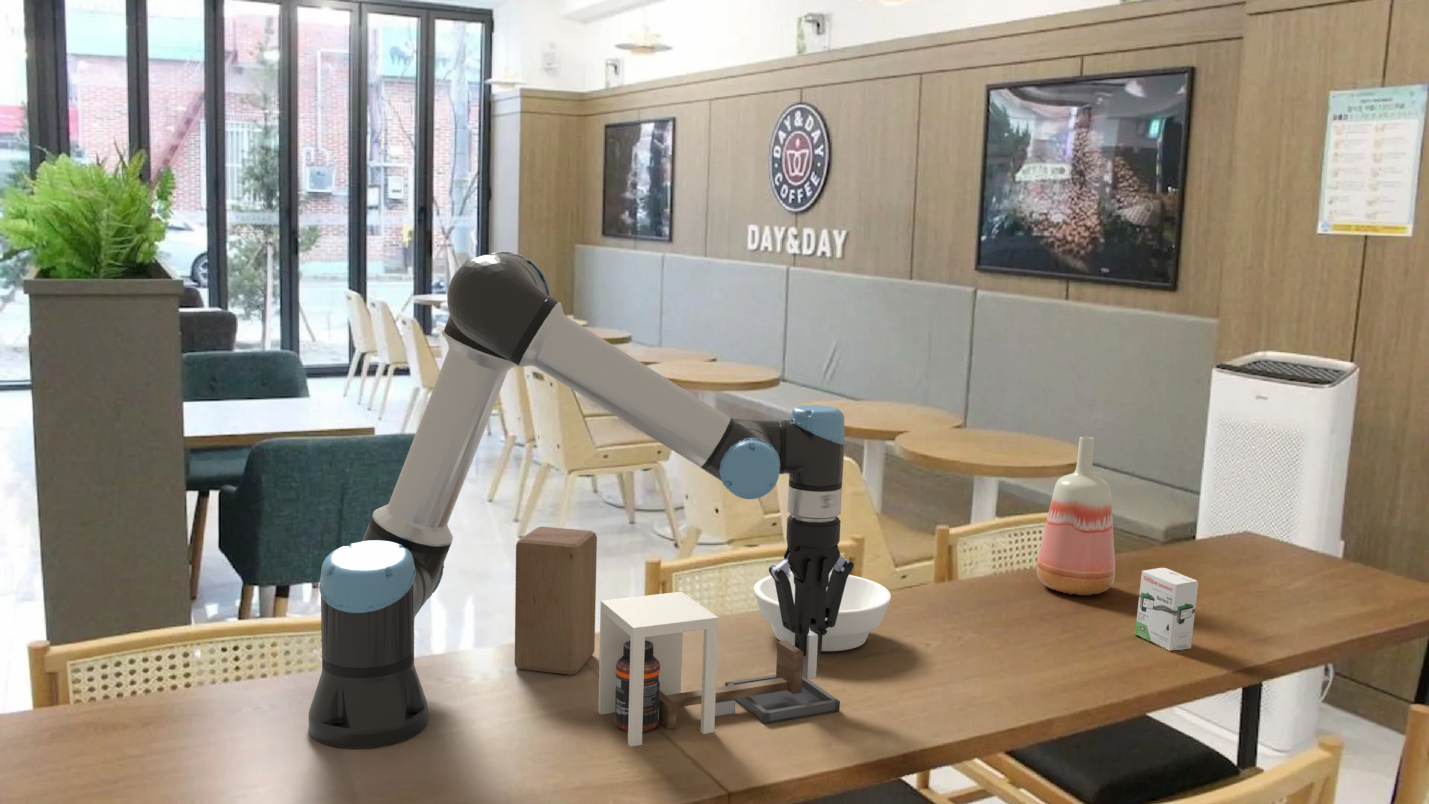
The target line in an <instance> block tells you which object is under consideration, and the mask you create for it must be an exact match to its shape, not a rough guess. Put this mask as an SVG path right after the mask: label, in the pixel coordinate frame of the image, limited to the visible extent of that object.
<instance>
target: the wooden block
mask: <svg viewBox="0 0 1429 804" xmlns="http://www.w3.org/2000/svg"><path fill="white" fill-rule="evenodd" d="M597 542H598V537H597V533H596V532H594V531H591V530H587V529H575V528H572V529H571V528H562V527H552V526H551V527H549V526H537V527H536V528H535V529H533V530H532V531H530V532H528V533H527V534H526V535H524V536H522V537H521V538H520V539H519V540H517V542H516V544H515V592H514V593H515V595H514V596H515V597H514V598H515V602H514V603H515V604H514V605H515V607H514V610H515V611H514V665H515V668H517V669H520V670H527V671H537V672H546V673H553V674H554V673H555V674H563V675H571V676H572V675H575V674H577V673H578V672H579V671H580V670H581V669H582V667H584V665H585V664H586V663H588V661H589V659H591V657H592V656H593V655H594V653H595V645H596V643H595V642H596V596H597V593H596V591H597V557H598V556H597V552H598V551H597V548H598V546H597V544H598V543H597Z"/></svg>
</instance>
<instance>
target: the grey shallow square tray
mask: <svg viewBox="0 0 1429 804" xmlns="http://www.w3.org/2000/svg"><path fill="white" fill-rule="evenodd" d="M769 679H776V674H772V675H771V674H770V675H766V676H764V675H763V676H759V677H753V678H744V679H739V680H733V681H726V682H724V686H730V685H736V684H743V683H749V682H756V681H763V680H769ZM734 700H735V703H738V705H740V706H741V707H742V708H744V709H745V710H746V711H747V712H748V713H750V714H751V715H753V717H755V718H756V719H757V721H760V723H762V724H763V725H769V724H771V723H772V724H773V723H778V722H785V721H791V720H797V719H802V718H807V717H808V718H809V717H812V716H814V717H815V716H819V715H826V714H832V713H838V712H840V709H841V701H840V700H839V699H838V698H836V697H835V696H833V695H832V694H831V693H829V692H828V691H827V690H825V689H823V688H822V687H821V686H819V685H817V683H815V682H814V681H812V680H811V679H810V680H807V679H805V678H804V677H803V676H802V693H798V694H792V693H791V692H789V691H788V690H785V691H779V692H772V693H766V694H760V695H754V696H747V697H741V698H735V699H734Z"/></svg>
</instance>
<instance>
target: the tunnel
mask: <svg viewBox="0 0 1429 804" xmlns="http://www.w3.org/2000/svg"><path fill="white" fill-rule="evenodd" d="M599 616H600V618H599V621H600V622H599V625H600V626H599V659H598V660H599V662H598V664H599V665H598V666H599V667H598V668H599V669H598V704H597V705H598V706H597V707H598V708H597V709H598V712H597V713H598V714H599V715H608V714H613V713H614V714H615V695H616V694H615V693H616V664H617V661H618V660H619V659H620V658H621V657H622V656H623V655H624V654H623V646H624V643H626V642H627V641H630V640H631V641H630V680H629V719H628V731H627V745H628V746H629V747H630V748H631V747H637V746H642V745H643V732H642V725H643V689H644V652H645V640H647V641H650V642H651V643H653V652H654V653H653V656H654V657H655V658H656V659H657V660H658V661H659V663H660V691H661V692H662V693H663V694H665V695H671V694H677V693H682V667H683V666H682V664H683V663H682V662H683V636H684V635H683V633H686V632H687V633H688V632H694V631H702V630H703V645H702V646H703V649H702V650H703V651H702V674H701V675H702V677H701V678H702V680H701V681H702V682H701V690H702V702H701V704H700V705H701V707H700V708H701V709H700V733H701V734H702V735H706V734H713V733H715V717H720V716H725V715H726V716H727V715H731V714H736V701H735V700H734V699H728V700H722V701H716V702H715V697H716V688H717V669H718V668H717V667H718V665H717V663H718V642H719V641H718V640H719V639H718V637H719V616H717V615H715V614H714V613H713V612H712V611H710V610H708V609H707V608H706V607H704V606H702V604H700V603H698V602H697V601H695V600H694V599H693V598H691V597H689V596H688V595H687V594H686V593H684V592H682V591H676V592H667V593H658V594H657V593H655V594H649V595H647V594H646V595H639V596H631V597H623V598H621V597H619V598H614V599H611V598H610V599H604V600H600V615H599Z"/></svg>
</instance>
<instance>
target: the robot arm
mask: <svg viewBox="0 0 1429 804" xmlns="http://www.w3.org/2000/svg"><path fill="white" fill-rule="evenodd" d="M446 294H447V295H446V296H447V297H446V298H447V301H446V302H447V308H448V313H449V316H448V318H447V320H446V324H445V326H444V329H443V332H442V334H443V337H444V338H445V341H446V343H447V345H448V350H447V352H446V355H445V357H444V360H443V362H442V365H441V368H440V370H439V372H438V375H437V378H436V381H435V384H434V386H433V388H432V391H431V394H430V396H429V399H428V401H427V403H426V406H425V410H424V412H423V414H422V416H421V419H420V422H419V424H418V427H417V430H416V432H415V434H414V437H413V440H412V443H411V445H410V448H409V450H408V452H407V455H406V458H405V461H404V464H403V466H402V468H401V471H400V474H399V476H398V479H397V481H396V484H395V486H394V489H393V491H392V495H391V497H390V499H389V502H388V503H387V504H385V505H383V506H381V507H379V508H377V509H375V510H374V511H373V513H372V515H371V517H370V521H369V523H368V526H367V527H366V530H365V533H364V536H363V538H362V541H357V542H353V543H352V542H351V543H350V544H348V545H346V546H345V545H343V546H340V547H338V548H336V549H334V550H333V551H331V552H330V553H329V554H328V555H326V557H325V559H324V560H323V562H322V565H321V572H320V579H319V586H318V587H319V593H320V619H321V620H320V622H321V623H320V625H321V627H320V628H321V629H320V630H321V674H320V676H319V679H318V683H317V685H316V690H315V692H314V695H313V698H312V701H311V704H310V708H309V711H308V732H309V735H310V736H311V737H312V738H313V739H314V740H315V741H318V742H319V743H322V744H326V745H328V746H333V747H339V748H348V749H364V748H366V749H367V748H377V747H383V746H388V745H393V744H397V743H399V742H403V741H405V740H408V739H410V738H412V737H414V736H416V735H417V734H419V733H421V732H422V731H423V730H424V729H425V728H426V727H427V724H428V722H429V706H428V705H429V704H428V700H427V698H426V695H425V692H424V689H423V687H422V683H421V681H420V678H419V675H418V673H417V669H416V665H415V617H416V616H417V615H418V613H419V612H420V610H421V609H422V607H423V606H424V605H425V603H426V602H427V600H429V599H431V596H433V594H434V593H435V592H436V590H437V588H438V587H439V586H440V583H441V581H442V578H443V574H444V569H445V560H446V558H447V555H448V553H449V550H450V548H451V545H452V543H453V539H454V536H453V534H452V532H451V530H450V528H449V526H448V525H449V524H448V523H449V520H450V518H451V516H452V514H453V511H454V508H455V506H456V503H457V501H458V498H459V495H460V493H461V492H462V491H461V490H462V489H463V485H464V483H465V480H466V478H467V475H468V473H469V471H470V468H471V465H472V464H473V461H474V458H475V455H476V453H477V451H478V447H479V445H480V443H481V440H482V438H483V435H484V433H485V429H486V428H487V425H488V422H489V420H490V417H491V415H492V413H493V411H494V410H493V409H494V407H495V405H496V402H497V400H498V397H499V395H500V392H501V390H502V387H503V385H504V382H505V380H506V376H507V374H508V372H509V371H510V370H511V369H513V368H516V367H520V368H525V367H530V366H532V367H535V368H537V369H538V370H540V371H541V372H543V373H545V374H546V375H548V376H550V377H551V378H553V379H555V380H556V381H558V382H559V383H561V384H563V385H565V386H566V387H568V388H570V389H571V390H572V391H574V392H576V393H577V394H580V395H581V396H583V397H584V398H585V399H588V400H589V401H590V402H593V404H596V405H597V406H599V407H601V408H602V409H604V410H606V411H607V412H608V413H610V414H612V415H613V416H615V417H617V418H618V419H620V420H622V421H623V422H625V423H627V424H629V425H630V426H632V427H633V428H635V429H637V430H638V431H640V432H641V433H643V434H645V435H647V436H648V437H650V438H651V439H652V440H653V439H654V441H656V442H657V443H660V444H661V445H663V446H665V447H667V448H668V449H670V450H671V451H673V452H675V453H676V454H678V455H680V456H681V457H682V458H684V459H686V460H688V461H689V462H691V463H693V464H695V466H698V467H699V468H700V469H702V470H704V471H705V472H706V473H708V474H709V475H711V476H713V477H714V478H715V479H718V480H719V481H721V483H722V484H723V486H724V487H725V488H726V490H728V492H730V493H731V494H733V495H734V496H735V497H738V498H740V499H745V500H755V499H761V498H763V497H764V496H766V495H767V494H768V493H771V491H772V490H773V489H774V488H775V487H776V484H777V483H778V481H779V477H780V475H788V491H787V506H786V507H787V509H786V510H787V513H789V515H788V516H787V517H786V537H785V538H786V543H787V545H786V546H787V547H786V550H785V553H784V555H783V560H782V561H780V563H778V564H777V565H776V566H775V565H772V564H771V565H770V566H769V567H768V571H769V574H770V576H772V577H773V579H774V581H775V586H776V591H777V596H778V602H779V607H780V612H781V618H782V623H783V626H784V627H785V628H786V629H788V630H790V631H791V632H793V633H795V647H797V648H798V649H800V650H801V651H803V652H804V653H803V674H802V676H803V677H804V678H805V679H807V680H810V681H811V680H815V679H817V668H818V666H817V664H818V663H817V661H818V655H820V654H821V652H822V651H821V650H822V635H825V634H826V633H827V630H826V629H827V628H828V627H834V626H835V623H836V619H837V616H838V612H839V608H840V604H841V600H842V596H843V592H844V588H845V584H846V581H847V577H848V576H849V575H851V573H852V570H853V569H854V566H855V564H854V562H853V561H851V560H848V559H846V558H844V557H843V556H841V550H840V549H839V546H838V545H839V543H840V541H841V538H840V537H841V520H840V518H839V516H840V515H841V511H842V494H843V493H842V492H843V476H844V475H843V474H844V461H845V460H844V457H845V444H846V441H845V415H844V413H843V412H842V410H840V409H839V408H838V407H833V406H829V405H820V404H809V405H804V404H803V405H797V406H795V407H793V408H792V410H791V412H790V413H791V415H790V416H789V419H784V420H783V419H782V420H770V419H768V420H766V419H743V418H733V417H729V416H728V415H726V414H724V412H721V411H720V410H718V409H716V408H715V407H713V406H711V405H710V404H709V403H706V402H705V401H704V400H703V399H700V398H698V397H697V396H696V395H694V394H693V393H691V392H689V391H688V390H686V389H684V388H683V387H681V386H679V385H678V384H676V383H675V382H673V381H671V380H670V379H669V378H667V377H665V376H663V375H662V374H660V373H659V372H657V371H656V370H654V369H652V368H651V367H649V366H647V365H646V364H644V363H642V362H641V361H639V360H638V359H636V358H634V357H633V356H631V355H630V354H628V353H626V352H625V351H623V350H622V349H620V348H618V347H617V346H615V345H614V344H612V343H610V342H608V341H607V340H605V339H604V338H602V337H600V336H599V335H597V334H595V333H594V332H593V331H591V330H589V329H588V328H586V327H584V326H583V325H581V324H580V323H578V322H576V321H575V320H573V319H572V318H570V317H568V316H567V315H566V314H565V313H564V310H563V305H562V303H561V302H560V301H558V300H556V299H555V298H553V297H552V296H551V295H550V287H549V283H548V281H547V278H546V277H545V275H544V273H543V271H542V270H541V268H539V267H538V266H537V265H536V264H535V263H534V262H533V261H532V260H530V259H528V258H526V257H524V256H522V255H521V254H517V253H514V252H511V251H499V252H492V253H490V254H483V255H480V256H479V255H478V256H476V257H474V258H471V259H469V260H467V261H466V262H465V263H464V264H463V265H461V266H460V267H459V268H458V269H457V271H456V272H455V273H454V274H453V275H452V278H451V280H450V281H449V285H448V289H447V293H446ZM789 572H792V573H793V575H794V584H795V603H794V600H793V594H792V589H791V584H790V581H789V579H788V578H789V577H790V574H789ZM830 572H832V573H831V576H830V580H829V573H830ZM827 587H828V588H827ZM826 588H827V592H826ZM809 627H810V630H809Z"/></svg>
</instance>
